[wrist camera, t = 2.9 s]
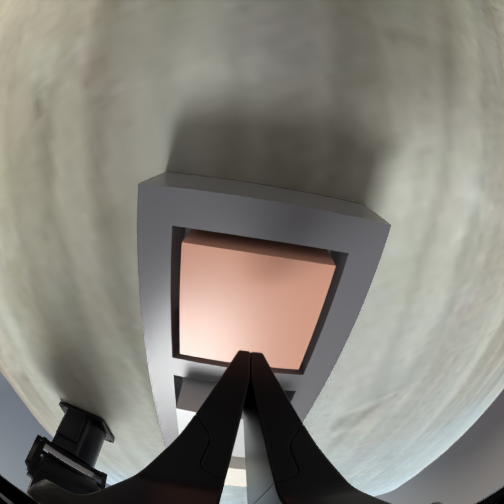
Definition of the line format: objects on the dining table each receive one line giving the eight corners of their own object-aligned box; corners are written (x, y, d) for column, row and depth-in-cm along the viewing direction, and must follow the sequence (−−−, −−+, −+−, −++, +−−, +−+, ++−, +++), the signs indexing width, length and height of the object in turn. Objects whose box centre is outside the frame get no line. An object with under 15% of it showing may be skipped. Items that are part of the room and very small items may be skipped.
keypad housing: (264, 454, 24) (263, 478, 21) (175, 443, 24) (170, 465, 21) (364, 204, 13) (391, 225, 10) (165, 172, 12) (138, 183, 9)
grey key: (265, 432, 17) (265, 458, 15) (186, 422, 17) (180, 448, 15) (284, 389, 15) (286, 422, 13) (184, 376, 15) (175, 408, 12)
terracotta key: (294, 339, 15) (298, 369, 13) (189, 324, 15) (180, 353, 13) (323, 242, 13) (336, 265, 10) (195, 222, 12) (181, 242, 10)
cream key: (248, 467, 21) (247, 486, 19) (189, 459, 21) (186, 478, 18) (258, 447, 18) (258, 470, 16) (187, 437, 18) (182, 460, 16)
